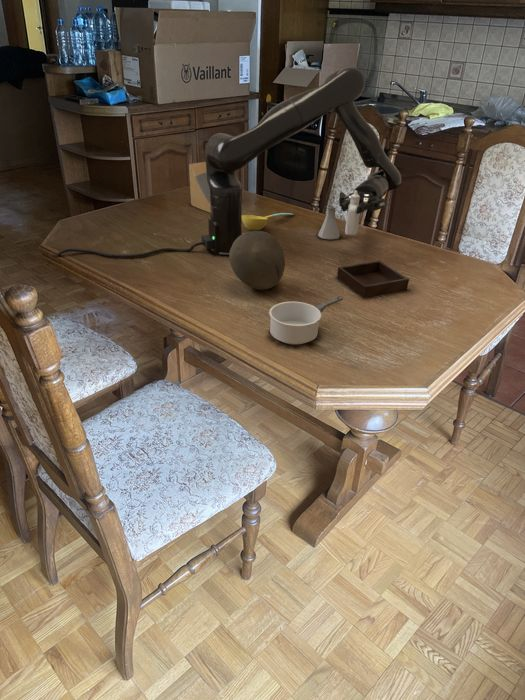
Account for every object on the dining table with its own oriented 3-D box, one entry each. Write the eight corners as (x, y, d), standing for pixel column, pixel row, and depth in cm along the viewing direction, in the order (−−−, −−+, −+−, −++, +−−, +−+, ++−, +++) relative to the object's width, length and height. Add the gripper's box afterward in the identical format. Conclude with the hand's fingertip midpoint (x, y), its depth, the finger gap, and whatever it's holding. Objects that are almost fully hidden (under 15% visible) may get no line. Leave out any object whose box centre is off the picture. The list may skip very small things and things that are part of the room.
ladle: (234, 228, 179) (236, 210, 177) (280, 227, 200) (282, 211, 198) (255, 233, 174) (257, 215, 172) (299, 231, 195) (302, 215, 193)
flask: (340, 240, 174) (344, 210, 169) (318, 239, 174) (321, 209, 169) (338, 233, 181) (341, 203, 175) (317, 232, 181) (319, 202, 175)
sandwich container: (215, 215, 193) (214, 172, 186) (190, 205, 203) (188, 164, 195) (233, 210, 198) (233, 168, 191) (208, 201, 208) (207, 161, 200)
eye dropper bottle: (338, 232, 154) (343, 190, 147) (351, 228, 157) (355, 187, 151) (351, 237, 151) (355, 194, 145) (363, 232, 154) (368, 190, 148)
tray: (363, 298, 138) (365, 286, 137) (336, 278, 149) (338, 267, 147) (407, 290, 143) (409, 279, 142) (378, 271, 154) (379, 260, 152)
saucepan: (356, 327, 125) (359, 306, 122) (290, 353, 115) (291, 330, 112) (322, 308, 133) (324, 288, 130) (258, 331, 122) (258, 309, 119)
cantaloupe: (277, 275, 149) (279, 222, 142) (288, 297, 138) (291, 241, 130) (227, 278, 147) (226, 224, 139) (233, 300, 135) (233, 244, 127)
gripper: (347, 177, 161) (327, 191, 148) (394, 184, 156) (377, 199, 143) (345, 202, 165) (325, 218, 152) (390, 209, 160) (374, 226, 147)
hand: (351, 208), depth 148 cm, fingers closed on eye dropper bottle, 3 cm apart
